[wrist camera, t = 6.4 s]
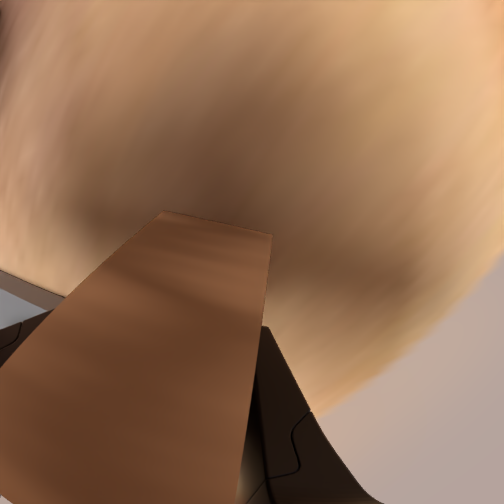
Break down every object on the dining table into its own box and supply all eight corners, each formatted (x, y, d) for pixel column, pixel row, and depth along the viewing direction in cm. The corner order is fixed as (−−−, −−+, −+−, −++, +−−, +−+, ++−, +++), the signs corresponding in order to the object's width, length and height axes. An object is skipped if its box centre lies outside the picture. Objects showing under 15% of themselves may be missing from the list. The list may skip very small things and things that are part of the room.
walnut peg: (157, 300, 12) (36, 516, 3) (163, 210, 11) (-57, 442, 2) (250, 324, 12) (198, 580, 3) (273, 234, 11) (219, 586, 2)
